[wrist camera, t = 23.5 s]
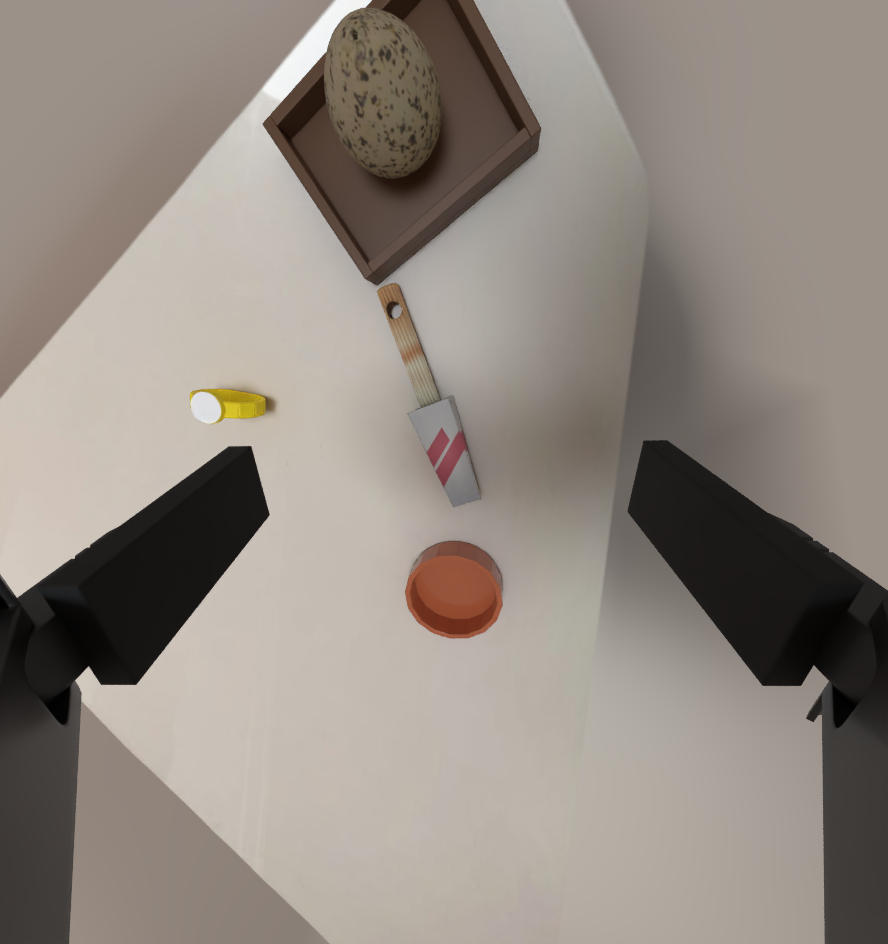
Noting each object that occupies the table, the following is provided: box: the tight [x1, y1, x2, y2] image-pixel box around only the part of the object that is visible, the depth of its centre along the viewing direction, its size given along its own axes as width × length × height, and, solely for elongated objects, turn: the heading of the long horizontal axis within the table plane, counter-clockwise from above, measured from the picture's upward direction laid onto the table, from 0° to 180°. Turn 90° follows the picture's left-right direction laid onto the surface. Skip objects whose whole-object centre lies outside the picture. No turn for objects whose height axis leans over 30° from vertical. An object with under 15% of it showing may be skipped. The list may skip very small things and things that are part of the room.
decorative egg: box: [324, 8, 442, 179], centre depth 24 cm, size 7×7×10 cm
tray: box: [263, 0, 541, 285], centre depth 28 cm, size 16×13×3 cm
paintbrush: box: [377, 283, 481, 507], centre depth 34 cm, size 4×3×20 cm
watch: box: [190, 389, 266, 424], centre depth 35 cm, size 6×3×6 cm, turn 80°
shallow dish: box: [405, 541, 502, 638], centre depth 39 cm, size 10×10×3 cm
